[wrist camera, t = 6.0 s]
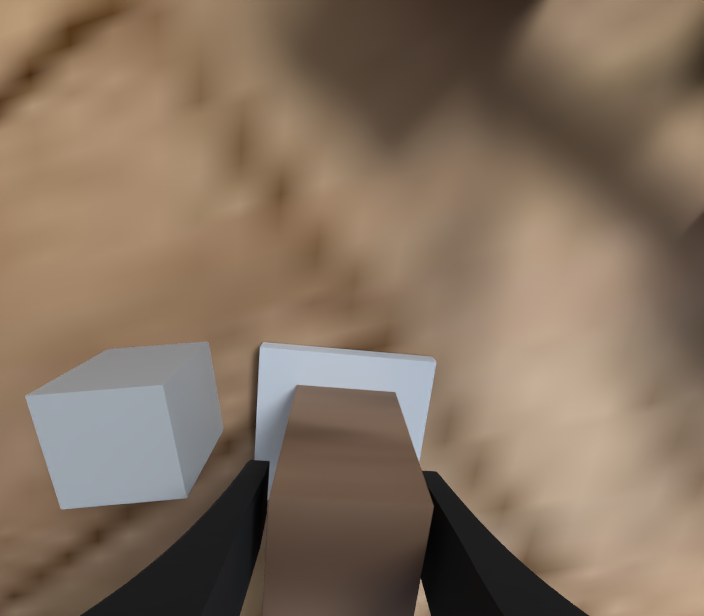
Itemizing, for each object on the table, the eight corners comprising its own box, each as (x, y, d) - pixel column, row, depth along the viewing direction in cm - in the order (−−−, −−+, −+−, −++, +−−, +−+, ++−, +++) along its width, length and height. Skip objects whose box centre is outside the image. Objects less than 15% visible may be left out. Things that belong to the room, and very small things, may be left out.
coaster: (408, 497, 17) (411, 508, 16) (255, 489, 16) (252, 499, 16) (432, 356, 15) (436, 362, 14) (262, 341, 14) (259, 347, 14)
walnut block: (383, 476, 16) (410, 630, 10) (290, 470, 15) (261, 625, 9) (395, 392, 15) (433, 506, 9) (296, 384, 14) (268, 497, 8)
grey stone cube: (224, 428, 15) (186, 498, 12) (130, 436, 15) (60, 509, 11) (209, 340, 14) (162, 384, 11) (109, 348, 14) (25, 395, 11)
